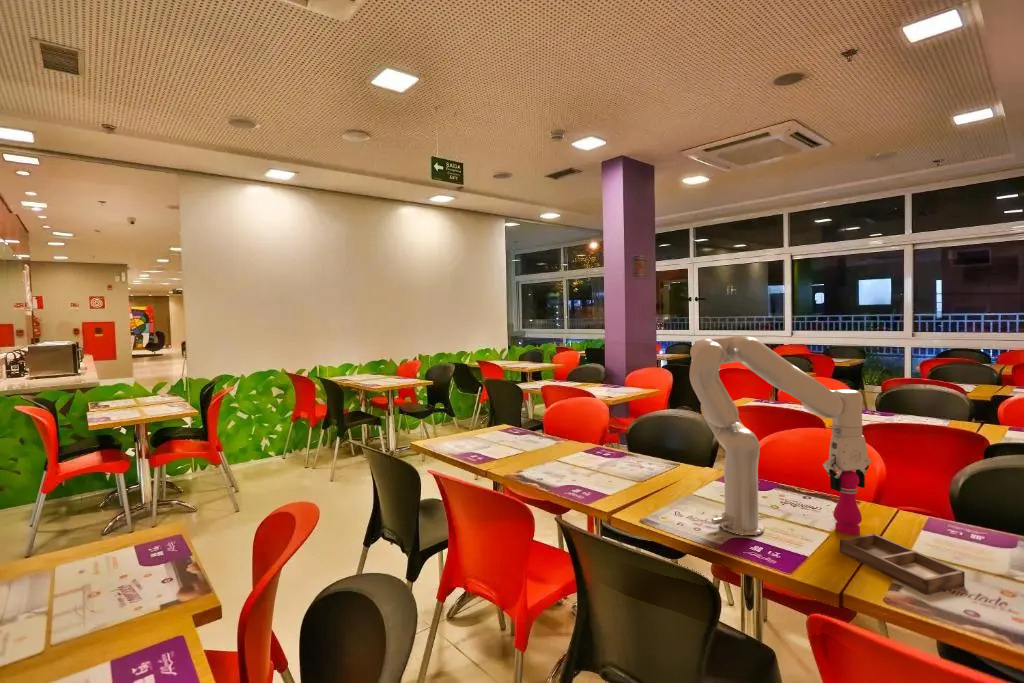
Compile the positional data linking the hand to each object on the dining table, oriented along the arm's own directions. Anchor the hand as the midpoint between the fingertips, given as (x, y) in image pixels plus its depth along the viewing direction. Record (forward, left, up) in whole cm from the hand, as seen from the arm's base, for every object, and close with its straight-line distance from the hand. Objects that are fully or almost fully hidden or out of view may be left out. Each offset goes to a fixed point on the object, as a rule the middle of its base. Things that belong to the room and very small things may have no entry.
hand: (847, 487), depth 158 cm
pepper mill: (0, 0, -13) cm, 13 cm away
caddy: (-8, -22, -13) cm, 27 cm away
